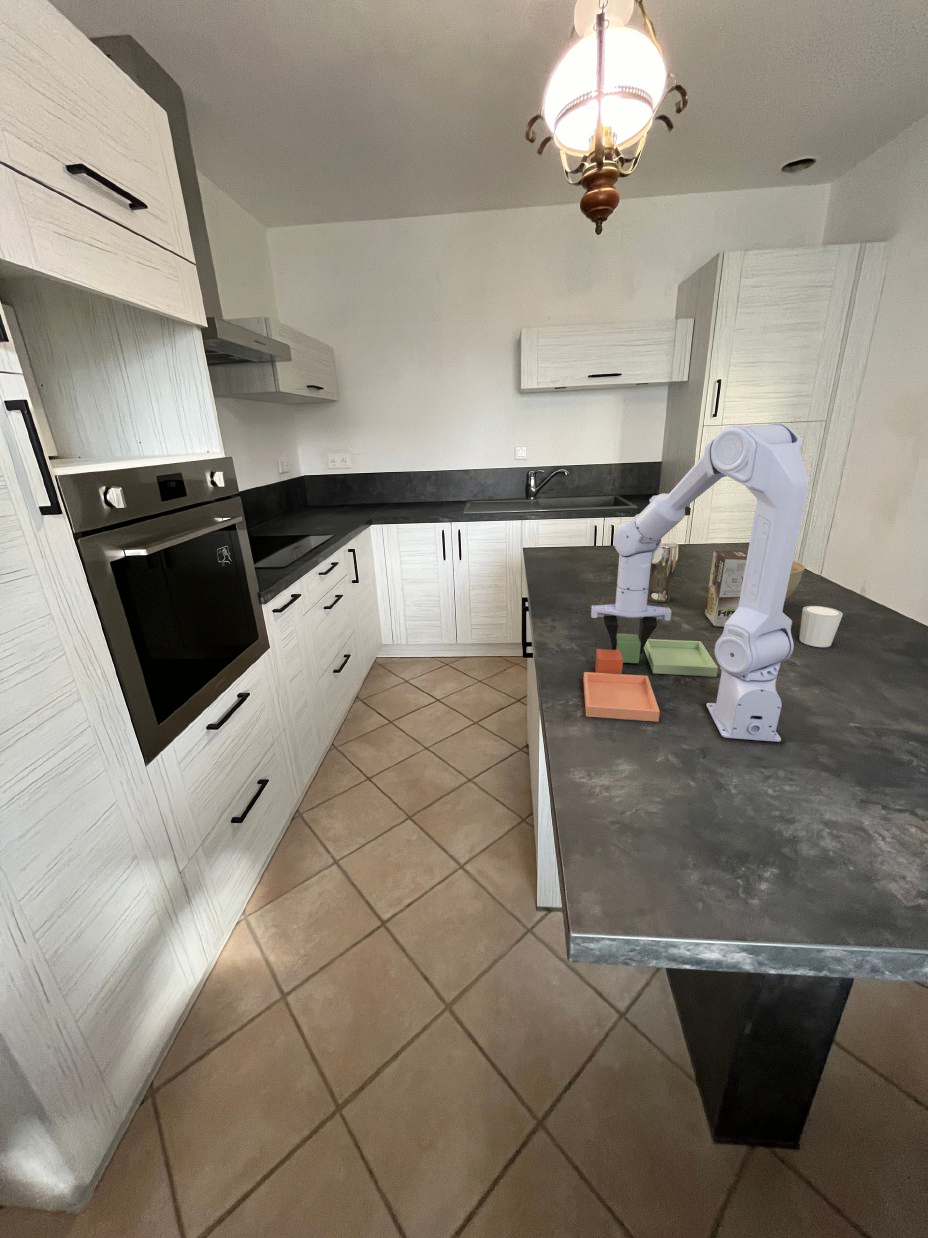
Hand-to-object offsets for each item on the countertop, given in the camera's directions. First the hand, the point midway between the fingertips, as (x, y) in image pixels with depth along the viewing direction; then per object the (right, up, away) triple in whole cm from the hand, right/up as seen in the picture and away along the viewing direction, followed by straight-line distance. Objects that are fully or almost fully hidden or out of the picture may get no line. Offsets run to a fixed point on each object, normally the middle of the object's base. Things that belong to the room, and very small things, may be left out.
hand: (626, 651), depth 97 cm
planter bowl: (+44, +10, +29) cm, 53 cm away
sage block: (0, -1, +1) cm, 1 cm away
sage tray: (+10, -2, 0) cm, 10 cm away
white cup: (+42, +1, +6) cm, 42 cm away
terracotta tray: (-6, -7, -13) cm, 16 cm away
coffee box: (+29, +6, +19) cm, 35 cm away
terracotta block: (-5, -4, -5) cm, 8 cm away
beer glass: (+20, +12, +35) cm, 42 cm away
